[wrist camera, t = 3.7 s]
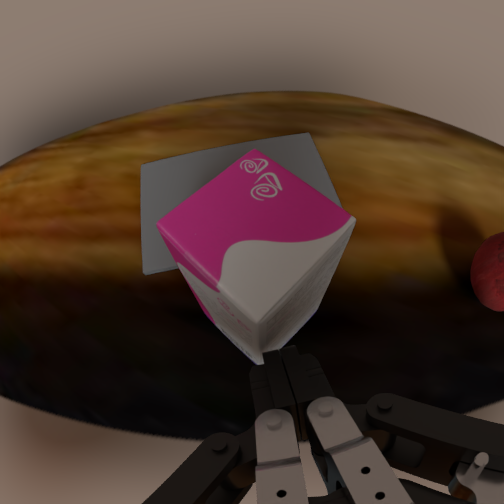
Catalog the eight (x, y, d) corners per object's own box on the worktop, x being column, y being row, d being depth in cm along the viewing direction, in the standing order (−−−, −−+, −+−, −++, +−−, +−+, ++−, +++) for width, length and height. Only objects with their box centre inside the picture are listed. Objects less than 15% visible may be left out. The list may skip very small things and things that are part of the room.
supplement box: (320, 308, 22) (363, 219, 12) (260, 370, 20) (252, 335, 10) (260, 256, 24) (254, 142, 14) (201, 311, 22) (145, 226, 12)
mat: (308, 136, 29) (308, 132, 29) (349, 233, 24) (351, 230, 24) (142, 168, 28) (141, 164, 28) (145, 275, 24) (143, 272, 23)
